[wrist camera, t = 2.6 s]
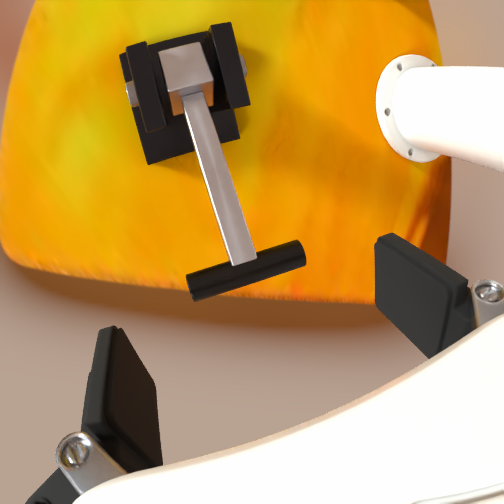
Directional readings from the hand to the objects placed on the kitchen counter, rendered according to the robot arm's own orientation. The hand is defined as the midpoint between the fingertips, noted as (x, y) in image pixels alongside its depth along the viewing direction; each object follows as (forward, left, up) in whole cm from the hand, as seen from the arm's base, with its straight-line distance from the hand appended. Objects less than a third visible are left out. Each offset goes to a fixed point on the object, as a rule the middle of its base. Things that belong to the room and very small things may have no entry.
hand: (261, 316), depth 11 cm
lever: (0, -4, -7) cm, 8 cm away
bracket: (0, -9, -19) cm, 21 cm away
